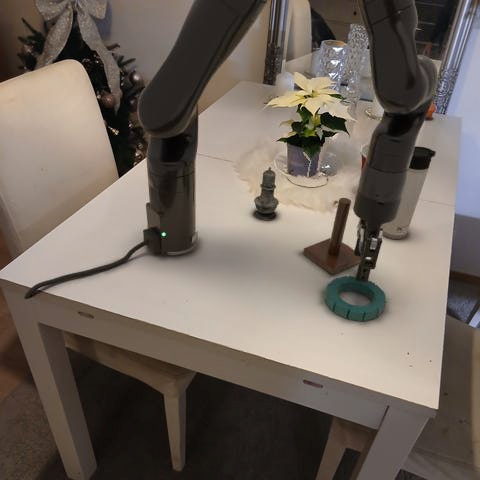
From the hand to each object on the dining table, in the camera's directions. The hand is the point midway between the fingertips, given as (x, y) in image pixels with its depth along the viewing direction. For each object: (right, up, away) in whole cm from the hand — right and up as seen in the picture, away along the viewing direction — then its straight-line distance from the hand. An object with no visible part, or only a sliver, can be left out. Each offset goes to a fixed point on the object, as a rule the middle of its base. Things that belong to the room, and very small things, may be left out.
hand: (360, 267), depth 92 cm
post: (-3, +3, +11) cm, 11 cm away
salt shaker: (-17, +15, +23) cm, 32 cm away
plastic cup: (+11, +23, +34) cm, 43 cm away
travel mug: (+13, +10, +20) cm, 26 cm away
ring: (-1, -7, 0) cm, 7 cm away
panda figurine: (-4, +29, +40) cm, 49 cm away
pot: (+44, +64, +84) cm, 114 cm away
